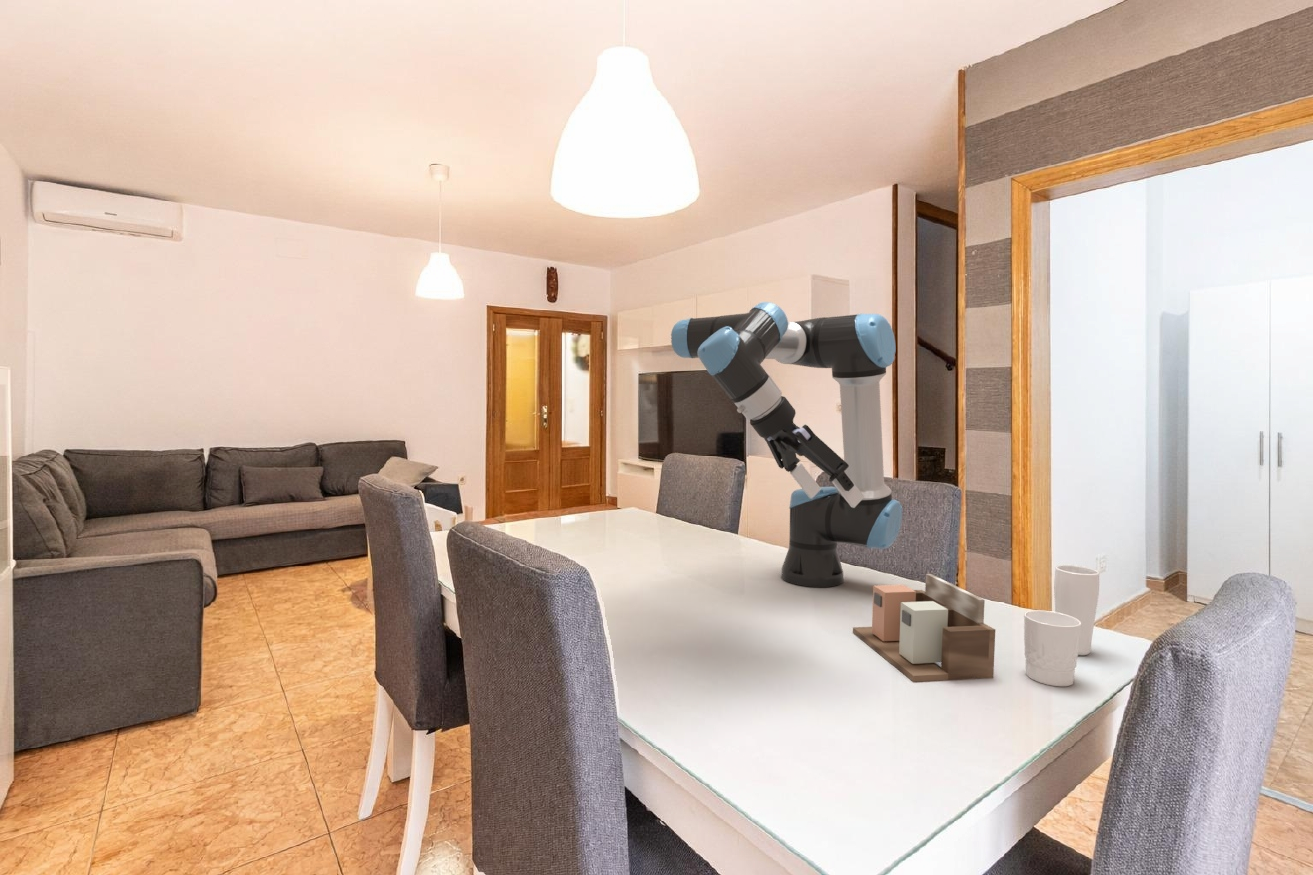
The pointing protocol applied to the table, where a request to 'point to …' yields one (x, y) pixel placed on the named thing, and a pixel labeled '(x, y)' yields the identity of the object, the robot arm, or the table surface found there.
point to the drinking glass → (1078, 599)
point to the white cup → (1051, 647)
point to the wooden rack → (946, 637)
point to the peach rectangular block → (889, 610)
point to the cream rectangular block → (922, 631)
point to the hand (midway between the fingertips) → (835, 497)
